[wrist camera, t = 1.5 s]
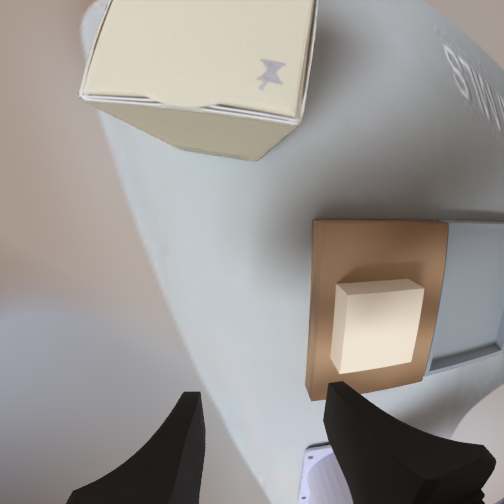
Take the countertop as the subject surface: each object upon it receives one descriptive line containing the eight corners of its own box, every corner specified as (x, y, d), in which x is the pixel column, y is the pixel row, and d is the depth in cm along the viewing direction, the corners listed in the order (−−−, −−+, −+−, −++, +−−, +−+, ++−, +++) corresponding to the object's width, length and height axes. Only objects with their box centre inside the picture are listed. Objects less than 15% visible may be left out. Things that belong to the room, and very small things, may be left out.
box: (269, 95, 18) (337, -26, 5) (257, 164, 19) (316, 132, 6) (183, 82, 17) (125, -49, 5) (169, 151, 18) (70, 102, 6)
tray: (493, 346, 24) (503, 353, 22) (415, 367, 23) (424, 376, 21) (516, 222, 21) (527, 224, 20) (437, 219, 20) (449, 222, 19)
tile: (397, 348, 20) (411, 361, 18) (330, 357, 20) (339, 374, 18) (408, 278, 19) (424, 288, 17) (336, 283, 18) (347, 295, 17)
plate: (410, 368, 23) (421, 381, 21) (305, 385, 22) (311, 401, 20) (431, 219, 20) (448, 223, 18) (312, 219, 20) (321, 224, 18)
